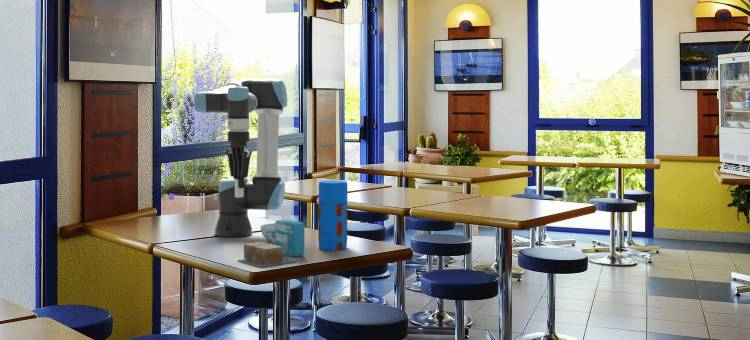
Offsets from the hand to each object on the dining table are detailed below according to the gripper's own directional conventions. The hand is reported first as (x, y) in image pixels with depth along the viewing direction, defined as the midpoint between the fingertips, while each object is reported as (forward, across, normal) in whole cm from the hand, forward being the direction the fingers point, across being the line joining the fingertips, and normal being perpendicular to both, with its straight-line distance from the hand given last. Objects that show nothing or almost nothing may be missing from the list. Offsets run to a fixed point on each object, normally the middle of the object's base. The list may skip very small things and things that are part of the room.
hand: (239, 196), depth 273 cm
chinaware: (+21, -3, +20) cm, 30 cm away
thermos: (+21, +12, +33) cm, 41 cm away
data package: (+21, +12, +13) cm, 27 cm away
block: (+18, +9, -1) cm, 20 cm away
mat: (+20, +18, -1) cm, 27 cm away
